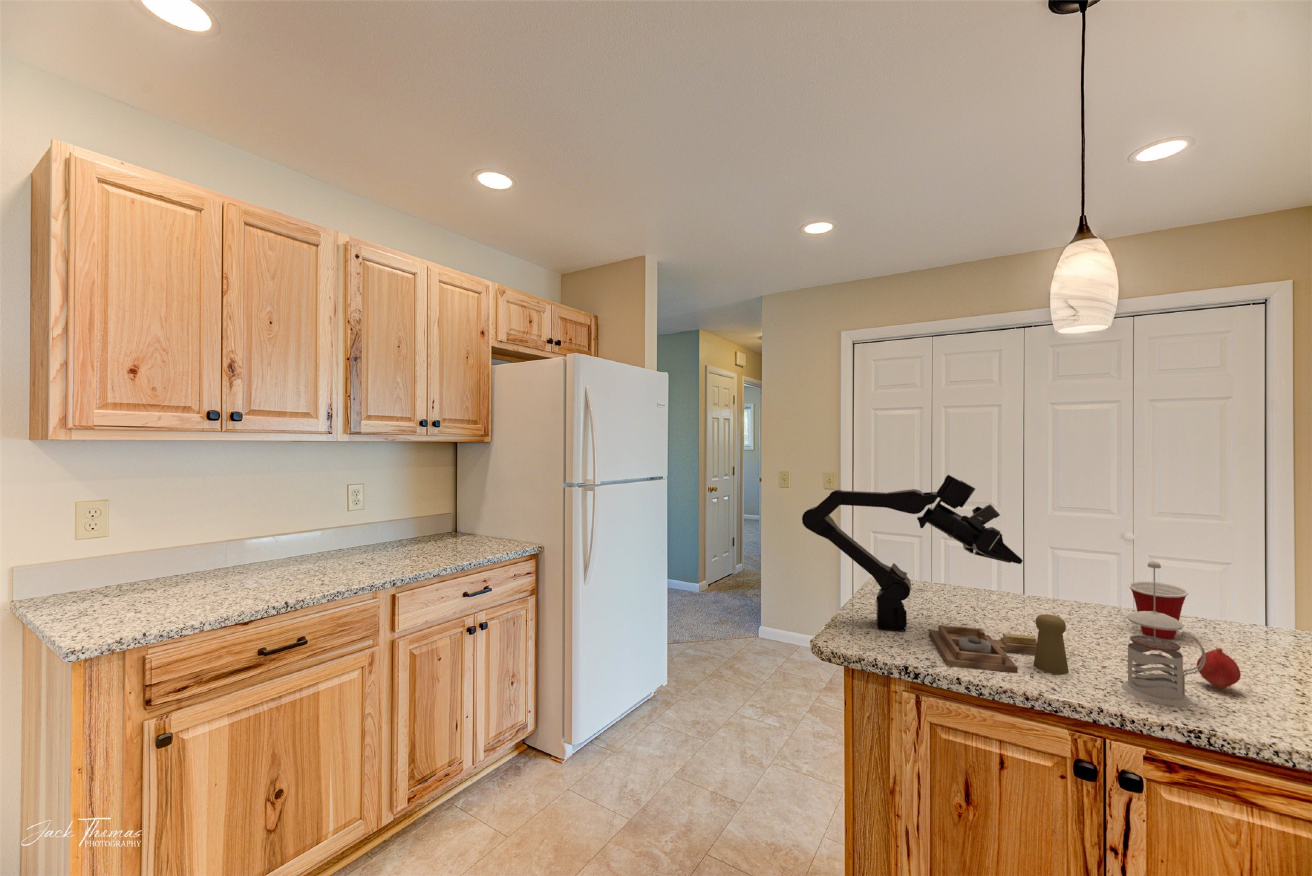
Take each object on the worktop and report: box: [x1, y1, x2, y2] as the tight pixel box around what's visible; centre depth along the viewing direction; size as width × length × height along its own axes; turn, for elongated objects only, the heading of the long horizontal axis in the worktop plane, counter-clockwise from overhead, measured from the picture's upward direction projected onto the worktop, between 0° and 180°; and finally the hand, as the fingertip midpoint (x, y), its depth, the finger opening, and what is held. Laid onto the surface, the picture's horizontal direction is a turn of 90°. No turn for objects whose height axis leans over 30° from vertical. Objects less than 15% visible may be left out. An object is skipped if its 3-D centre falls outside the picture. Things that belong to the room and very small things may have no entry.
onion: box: [1196, 647, 1242, 690], centre depth 104 cm, size 6×6×8 cm
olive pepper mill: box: [1033, 613, 1070, 675], centre depth 113 cm, size 6×6×11 cm
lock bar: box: [1002, 632, 1037, 646], centre depth 123 cm, size 6×2×2 cm, turn 74°
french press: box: [1120, 560, 1206, 707], centre depth 102 cm, size 10×12×25 cm
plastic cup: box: [1128, 581, 1189, 641], centre depth 132 cm, size 11×11×12 cm
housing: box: [928, 624, 1036, 674], centre depth 121 cm, size 22×19×4 cm
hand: (1016, 561), depth 126 cm, fingers open, 9 cm apart
